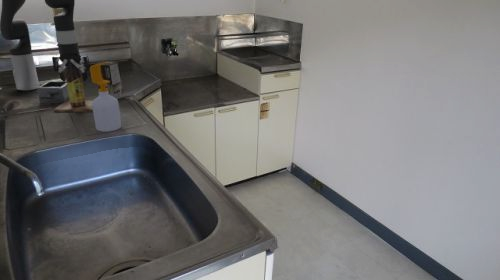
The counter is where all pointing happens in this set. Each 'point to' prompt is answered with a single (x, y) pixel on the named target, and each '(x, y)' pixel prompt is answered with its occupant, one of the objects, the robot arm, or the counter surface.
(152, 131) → the counter surface
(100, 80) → the spray bottle
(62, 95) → the grey open box
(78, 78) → the sauce bottle
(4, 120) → the counter surface
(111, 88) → the coffee box
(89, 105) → the walnut board
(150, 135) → the counter surface
